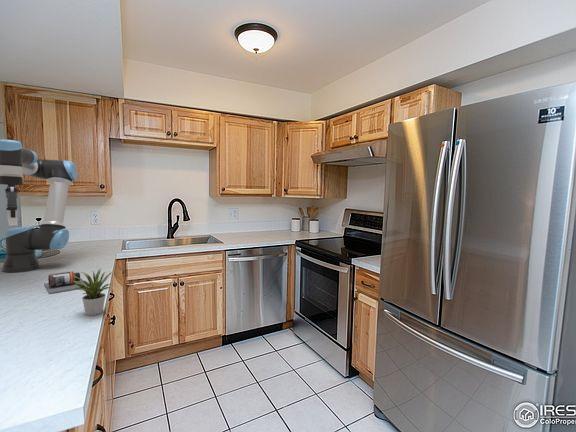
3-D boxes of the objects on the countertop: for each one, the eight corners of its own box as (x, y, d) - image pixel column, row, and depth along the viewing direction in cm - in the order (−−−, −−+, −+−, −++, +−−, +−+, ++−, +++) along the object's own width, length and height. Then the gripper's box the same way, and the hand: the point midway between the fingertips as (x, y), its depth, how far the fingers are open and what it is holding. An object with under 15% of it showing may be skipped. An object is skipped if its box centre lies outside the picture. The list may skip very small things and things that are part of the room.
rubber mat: (44, 284, 134) (44, 283, 134) (80, 279, 144) (80, 277, 144) (49, 294, 123) (49, 292, 123) (88, 287, 133) (88, 286, 133)
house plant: (111, 301, 117) (111, 262, 116) (125, 310, 109) (125, 268, 108) (68, 311, 106) (68, 268, 105) (80, 323, 98) (79, 275, 97)
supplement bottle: (47, 276, 132) (77, 272, 140) (48, 288, 130) (78, 284, 138) (49, 272, 128) (80, 269, 136) (50, 286, 126) (81, 281, 135)
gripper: (-2, 175, 133) (0, 221, 134) (-1, 174, 115) (1, 227, 117) (20, 177, 138) (22, 220, 139) (24, 175, 121) (26, 226, 122)
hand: (12, 223), depth 128 cm, fingers open, 13 cm apart
